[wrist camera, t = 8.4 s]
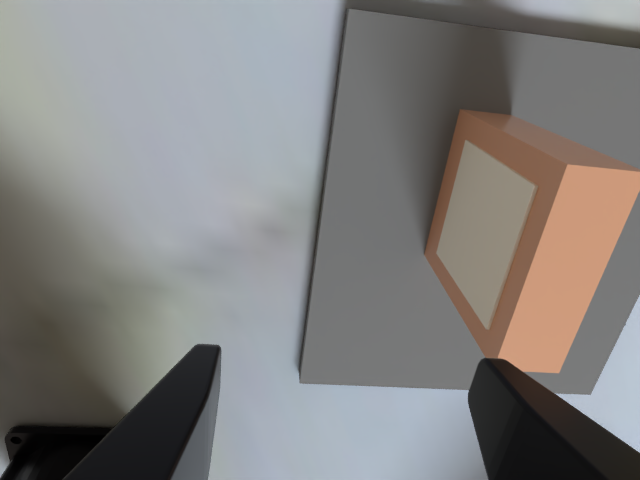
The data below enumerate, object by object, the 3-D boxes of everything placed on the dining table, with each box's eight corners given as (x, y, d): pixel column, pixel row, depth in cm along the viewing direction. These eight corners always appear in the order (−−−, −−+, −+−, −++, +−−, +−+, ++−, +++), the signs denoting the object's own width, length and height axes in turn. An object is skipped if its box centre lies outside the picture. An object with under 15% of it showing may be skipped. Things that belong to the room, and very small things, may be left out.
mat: (299, 374, 22) (299, 383, 22) (346, 8, 15) (348, 8, 15) (583, 386, 24) (590, 394, 24) (737, 62, 17) (752, 64, 17)
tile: (421, 254, 19) (489, 370, 13) (457, 108, 17) (563, 163, 10) (469, 258, 19) (558, 373, 13) (511, 115, 17) (647, 172, 11)
